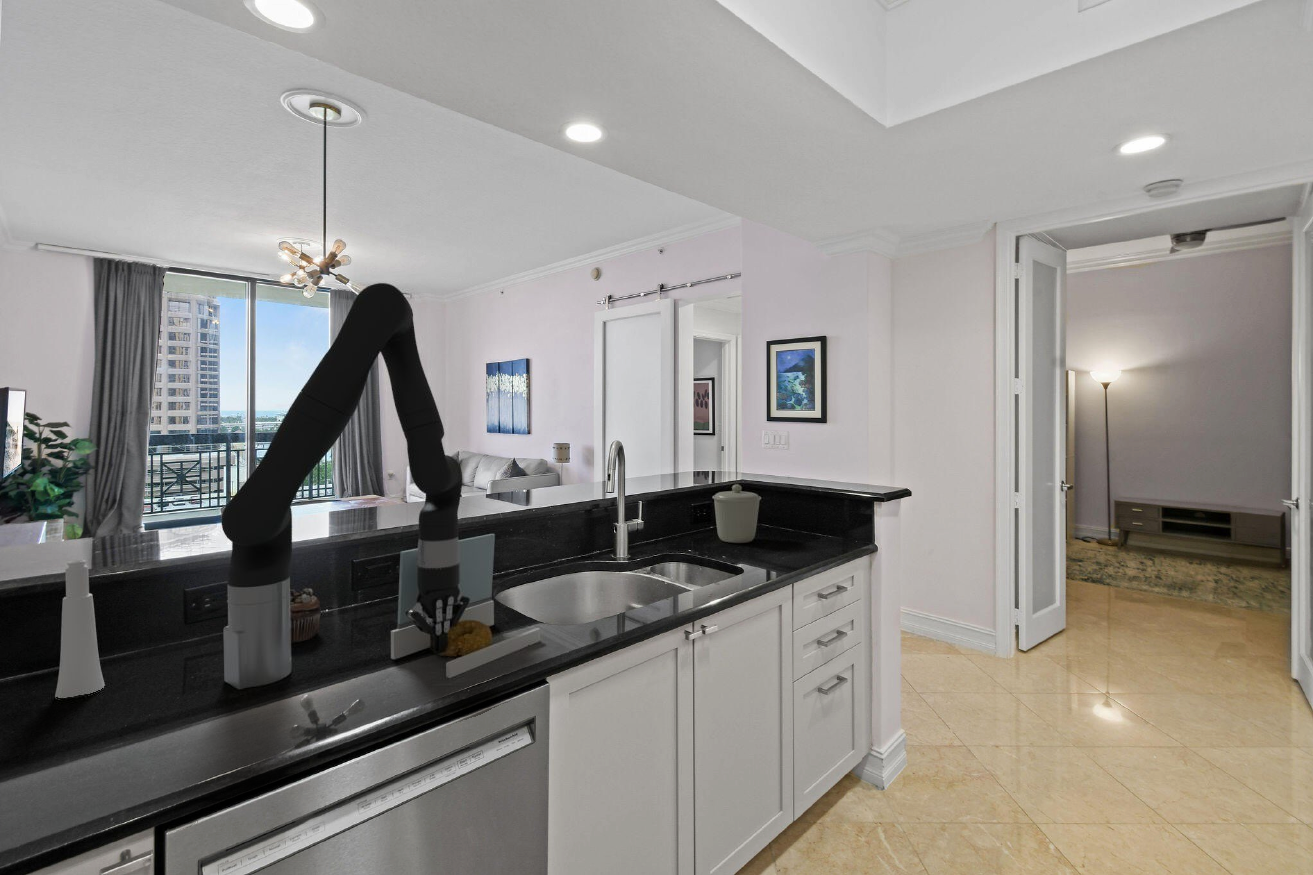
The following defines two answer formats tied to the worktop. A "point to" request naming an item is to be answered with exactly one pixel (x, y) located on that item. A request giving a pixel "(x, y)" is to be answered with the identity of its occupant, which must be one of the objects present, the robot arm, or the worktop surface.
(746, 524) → the canister
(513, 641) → the white channel
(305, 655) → the worktop surface
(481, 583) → the cover
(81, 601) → the cosmetic bottle
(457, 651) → the bagel
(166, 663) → the worktop surface
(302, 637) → the cupcake
